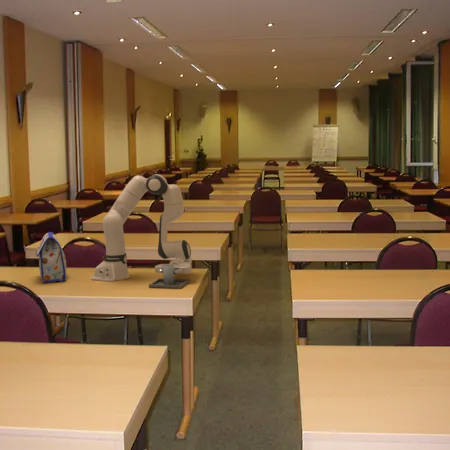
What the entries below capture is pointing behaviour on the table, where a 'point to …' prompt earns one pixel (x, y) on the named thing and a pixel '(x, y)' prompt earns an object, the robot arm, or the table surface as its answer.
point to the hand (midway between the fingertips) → (168, 272)
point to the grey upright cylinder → (168, 275)
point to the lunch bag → (51, 259)
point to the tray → (178, 285)
